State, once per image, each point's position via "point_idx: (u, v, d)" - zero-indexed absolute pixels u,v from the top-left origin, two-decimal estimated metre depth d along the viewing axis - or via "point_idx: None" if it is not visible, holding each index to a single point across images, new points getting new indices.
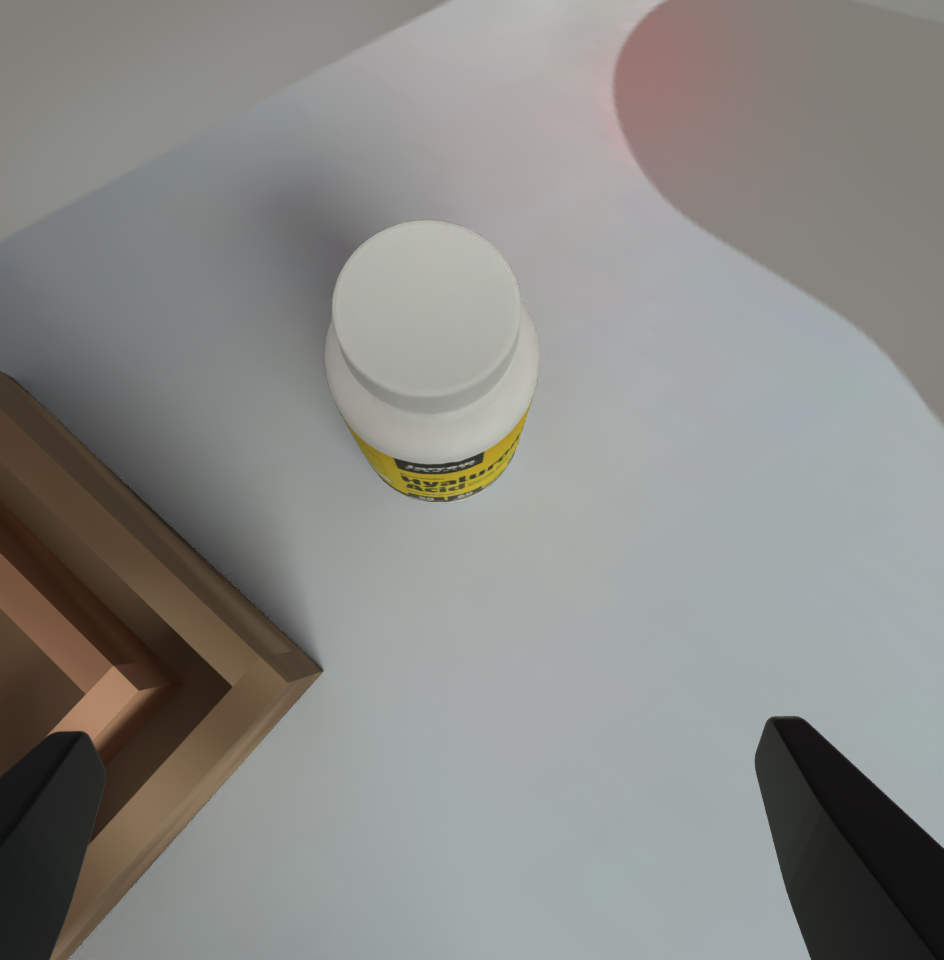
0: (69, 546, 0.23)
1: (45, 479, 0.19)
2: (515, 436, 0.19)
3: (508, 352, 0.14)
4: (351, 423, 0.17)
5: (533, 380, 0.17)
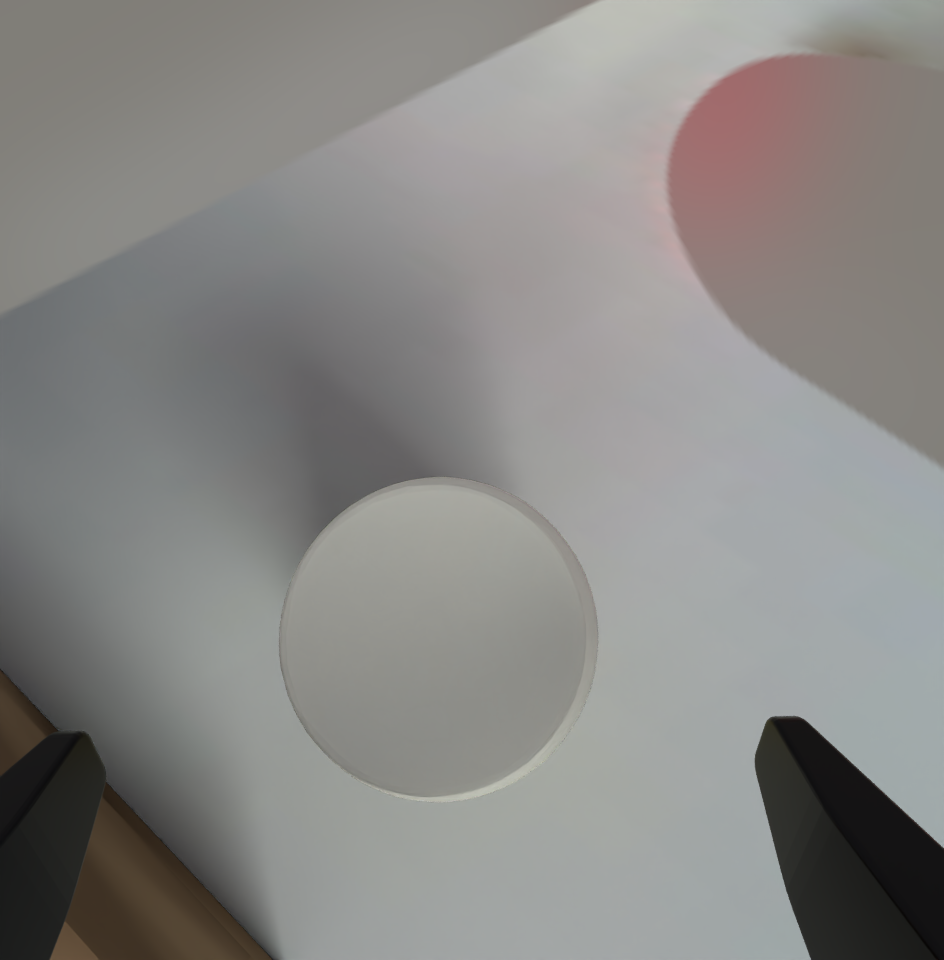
0: None
1: None
2: None
3: (566, 715, 0.09)
4: None
5: (590, 680, 0.11)
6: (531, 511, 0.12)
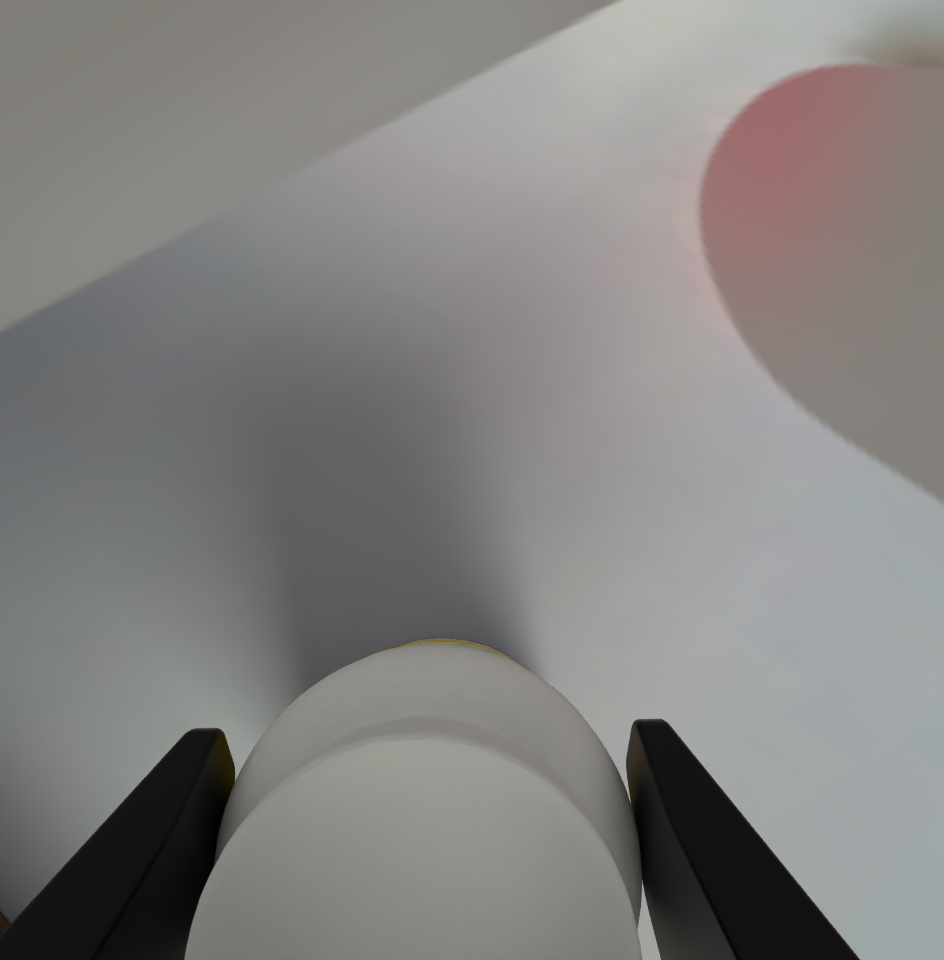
0: None
1: None
2: None
3: None
4: None
5: None
6: (551, 703, 0.09)
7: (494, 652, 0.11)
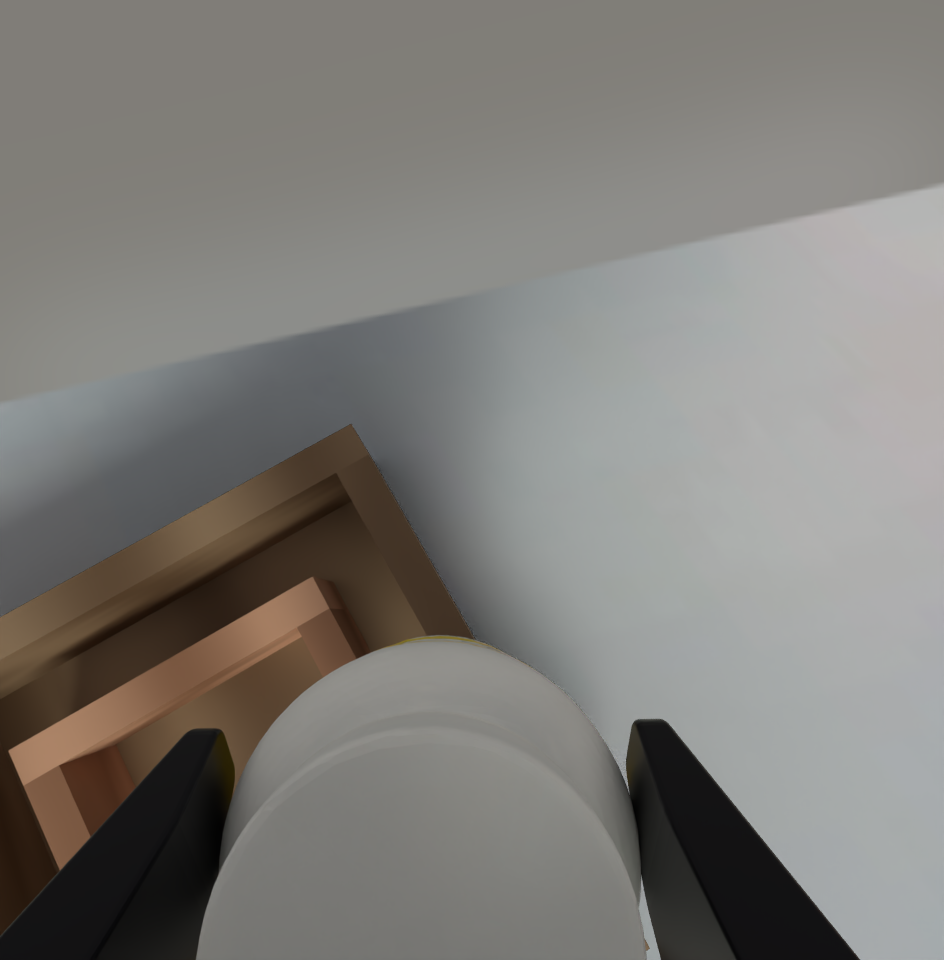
0: None
1: None
2: None
3: None
4: None
5: None
6: (554, 700, 0.09)
7: (495, 649, 0.11)
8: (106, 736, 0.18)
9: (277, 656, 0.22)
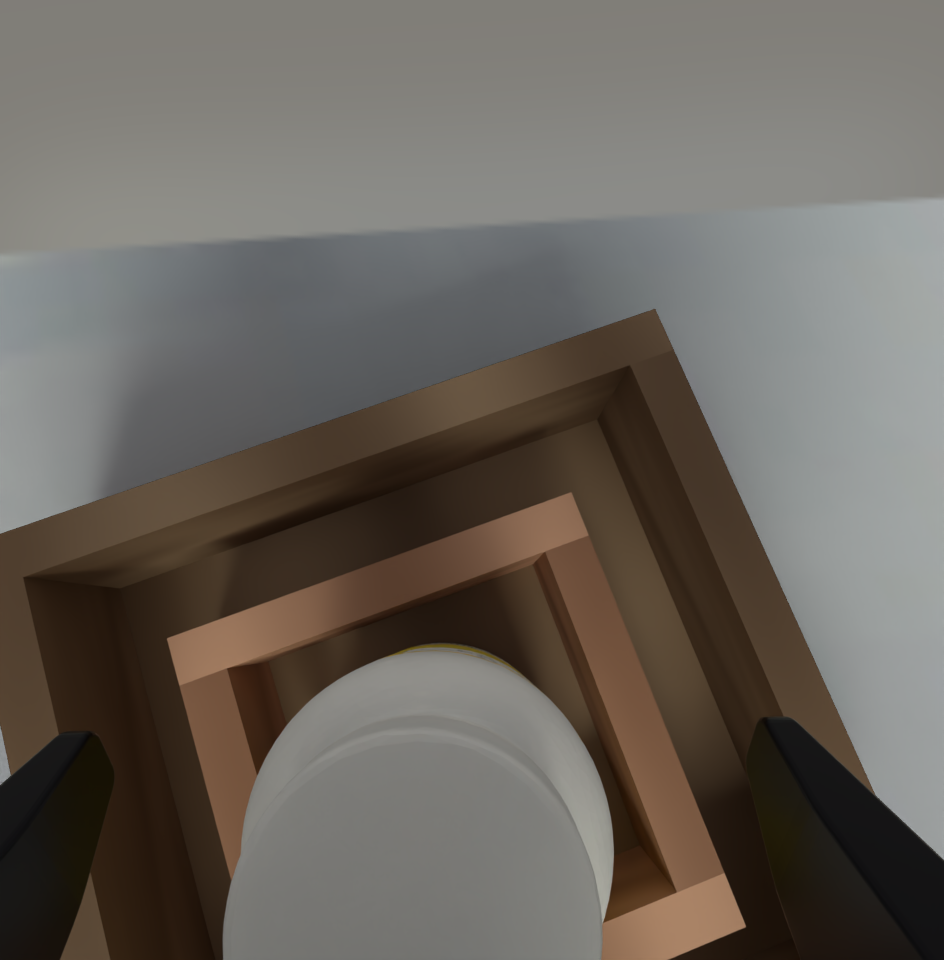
0: None
1: (757, 595, 0.14)
2: None
3: None
4: None
5: (604, 911, 0.10)
6: (536, 704, 0.10)
7: (488, 657, 0.12)
8: (290, 643, 0.14)
9: (476, 591, 0.18)
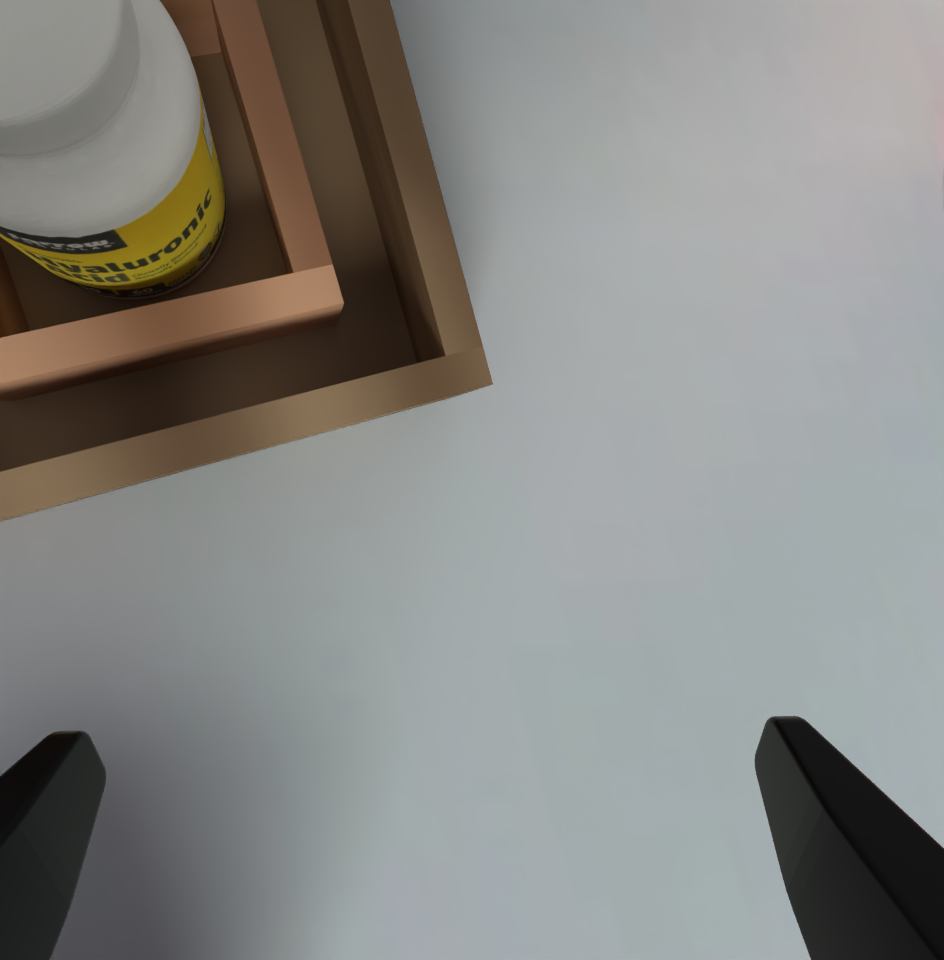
0: (296, 121, 0.20)
1: (378, 39, 0.17)
2: (180, 220, 0.15)
3: (97, 80, 0.10)
4: None
5: (180, 141, 0.13)
6: None
7: None
8: None
9: None
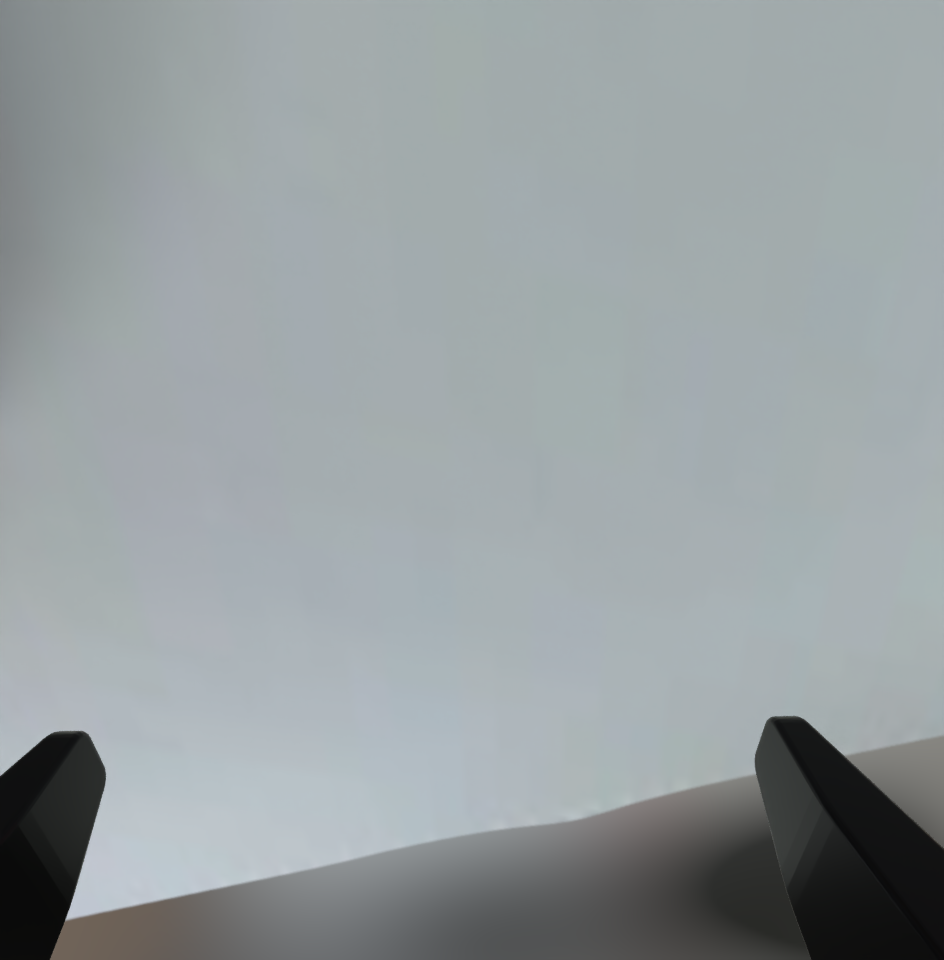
0: None
1: None
2: None
3: None
4: None
5: None
6: None
7: None
8: None
9: None
